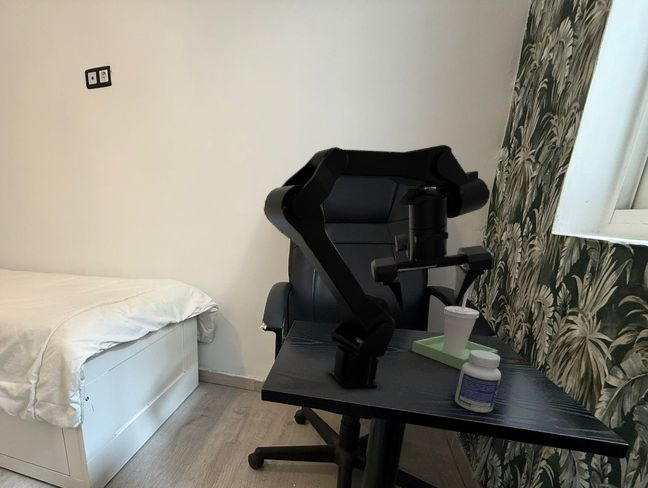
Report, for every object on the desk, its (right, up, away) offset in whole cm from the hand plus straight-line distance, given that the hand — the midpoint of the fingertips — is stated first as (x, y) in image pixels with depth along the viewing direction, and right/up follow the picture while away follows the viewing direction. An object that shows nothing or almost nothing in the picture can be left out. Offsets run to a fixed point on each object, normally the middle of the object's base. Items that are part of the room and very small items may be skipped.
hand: (428, 306), depth 68 cm
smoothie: (+11, -10, +11) cm, 19 cm away
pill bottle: (+2, -16, -9) cm, 19 cm away
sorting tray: (+12, -11, +11) cm, 19 cm away
